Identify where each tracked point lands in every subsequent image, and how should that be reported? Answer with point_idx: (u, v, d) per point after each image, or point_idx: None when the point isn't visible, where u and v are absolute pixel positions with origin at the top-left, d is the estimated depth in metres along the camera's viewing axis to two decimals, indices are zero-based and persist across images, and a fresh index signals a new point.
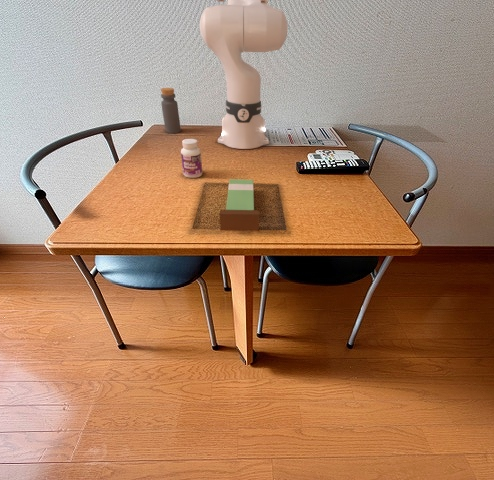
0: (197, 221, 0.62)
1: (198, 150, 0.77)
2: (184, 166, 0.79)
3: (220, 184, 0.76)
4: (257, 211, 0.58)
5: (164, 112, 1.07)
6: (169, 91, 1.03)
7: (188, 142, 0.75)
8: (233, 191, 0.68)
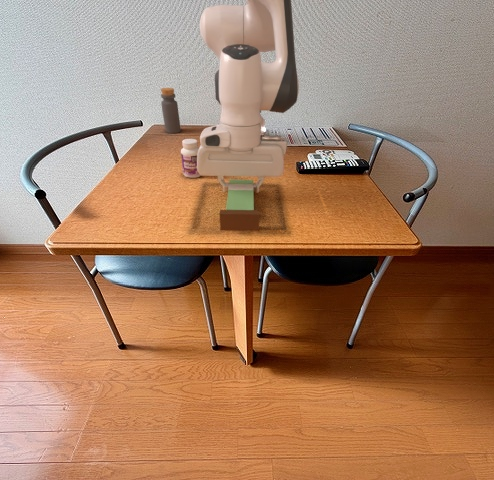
0: None
1: None
2: (184, 166, 0.79)
3: (220, 184, 0.76)
4: (257, 211, 0.58)
5: (164, 112, 1.07)
6: (169, 91, 1.03)
7: (188, 142, 0.75)
8: (233, 191, 0.68)
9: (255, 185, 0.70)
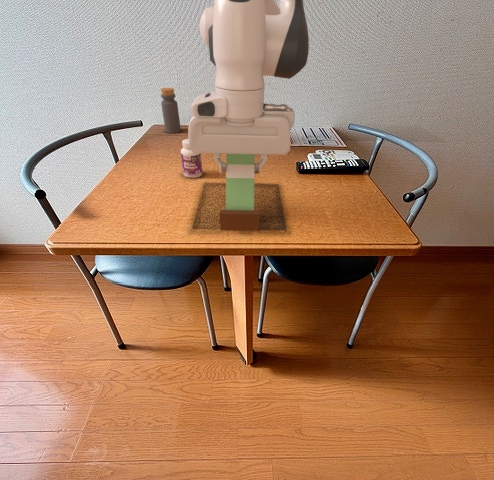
0: (197, 221, 0.62)
1: None
2: (184, 166, 0.79)
3: (220, 184, 0.76)
4: (257, 211, 0.58)
5: (164, 112, 1.07)
6: (169, 91, 1.03)
7: (188, 142, 0.75)
8: (232, 181, 0.61)
9: (257, 165, 0.60)
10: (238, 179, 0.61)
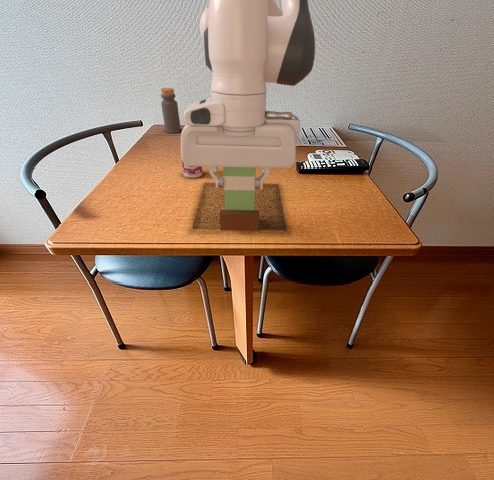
0: (197, 221, 0.62)
1: None
2: (184, 166, 0.79)
3: None
4: (257, 211, 0.58)
5: (164, 112, 1.07)
6: (169, 91, 1.03)
7: None
8: (230, 193, 0.56)
9: (258, 180, 0.54)
10: (237, 191, 0.56)
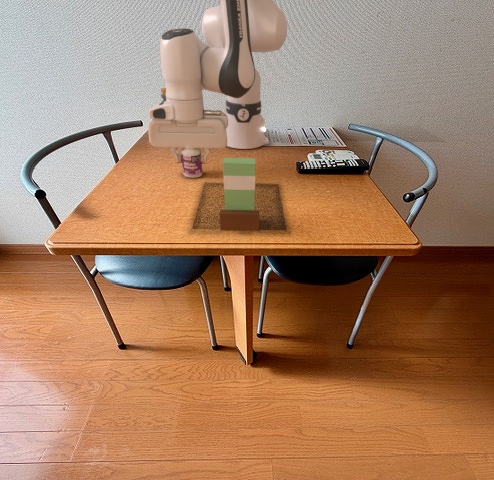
0: (197, 221, 0.62)
1: (198, 150, 0.77)
2: (184, 166, 0.79)
3: (220, 184, 0.76)
4: (257, 211, 0.58)
5: None
6: None
7: None
8: (230, 193, 0.56)
9: (202, 156, 0.79)
10: (237, 191, 0.56)
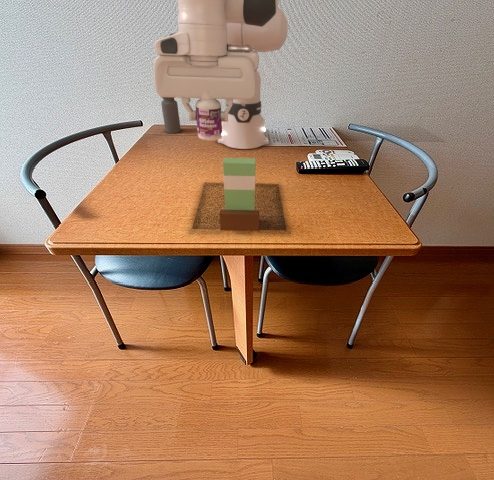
0: (197, 221, 0.62)
1: (218, 103, 0.60)
2: (200, 124, 0.61)
3: (220, 184, 0.76)
4: (257, 211, 0.58)
5: (164, 112, 1.07)
6: None
7: None
8: (230, 193, 0.56)
9: (223, 112, 0.61)
10: (237, 191, 0.56)
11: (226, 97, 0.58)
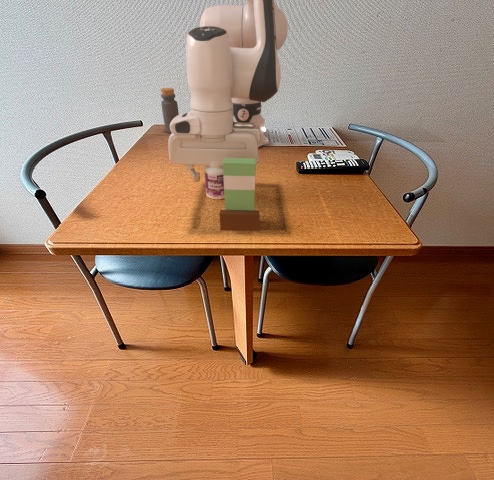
0: None
1: None
2: (208, 186, 0.68)
3: None
4: (257, 211, 0.58)
5: (164, 112, 1.07)
6: (169, 91, 1.03)
7: None
8: (230, 193, 0.56)
9: None
10: (237, 191, 0.56)
11: None
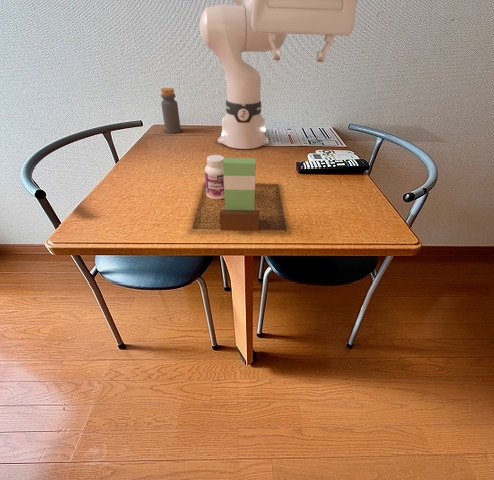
0: (197, 221, 0.62)
1: None
2: (208, 186, 0.68)
3: None
4: (257, 211, 0.58)
5: (164, 112, 1.07)
6: (169, 91, 1.03)
7: (214, 160, 0.65)
8: (230, 193, 0.56)
9: (321, 51, 0.59)
10: (237, 191, 0.56)
11: (323, 32, 0.56)
